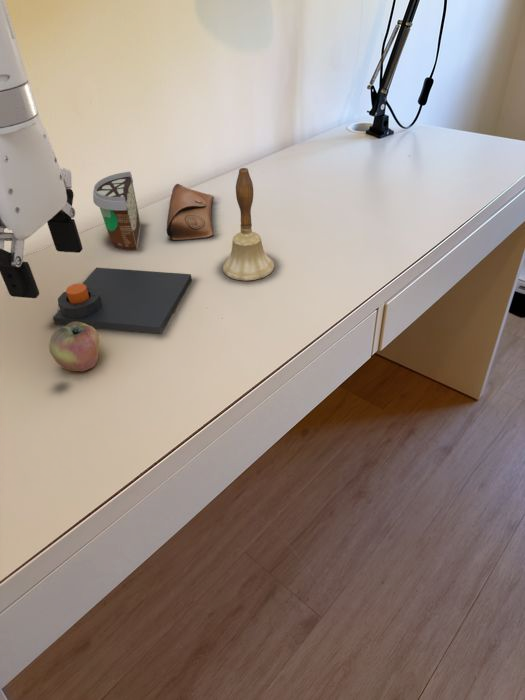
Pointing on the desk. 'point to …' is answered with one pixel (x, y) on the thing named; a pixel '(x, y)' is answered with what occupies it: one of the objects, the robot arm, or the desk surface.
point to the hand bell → (247, 239)
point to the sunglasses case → (189, 214)
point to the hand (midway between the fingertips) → (49, 272)
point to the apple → (75, 346)
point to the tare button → (77, 293)
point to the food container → (119, 209)
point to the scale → (126, 300)
